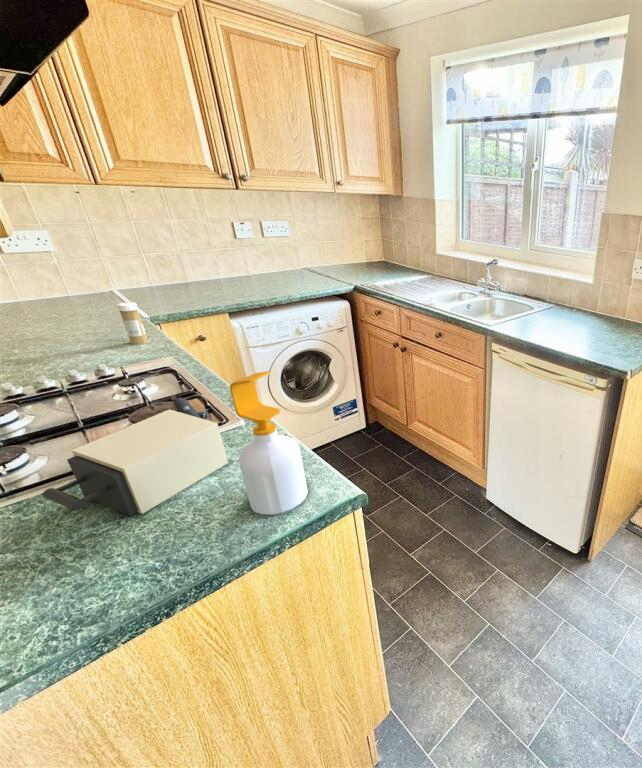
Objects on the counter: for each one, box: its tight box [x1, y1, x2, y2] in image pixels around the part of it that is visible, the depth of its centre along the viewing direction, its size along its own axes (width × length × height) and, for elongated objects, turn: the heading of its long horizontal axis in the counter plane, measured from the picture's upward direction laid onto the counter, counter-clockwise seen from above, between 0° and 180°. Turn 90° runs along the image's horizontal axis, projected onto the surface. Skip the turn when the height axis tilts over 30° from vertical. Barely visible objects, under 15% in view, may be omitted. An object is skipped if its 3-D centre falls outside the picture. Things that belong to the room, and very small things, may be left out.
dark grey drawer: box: [42, 455, 138, 516], centre depth 72 cm, size 20×11×8 cm, turn 161°
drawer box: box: [71, 409, 229, 515], centre depth 76 cm, size 16×13×10 cm
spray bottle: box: [229, 370, 308, 516], centre depth 70 cm, size 9×9×25 cm
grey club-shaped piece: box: [173, 397, 210, 420], centre depth 94 cm, size 18×7×6 cm, turn 43°
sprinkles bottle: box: [116, 301, 149, 346], centre depth 133 cm, size 5×5×14 cm
